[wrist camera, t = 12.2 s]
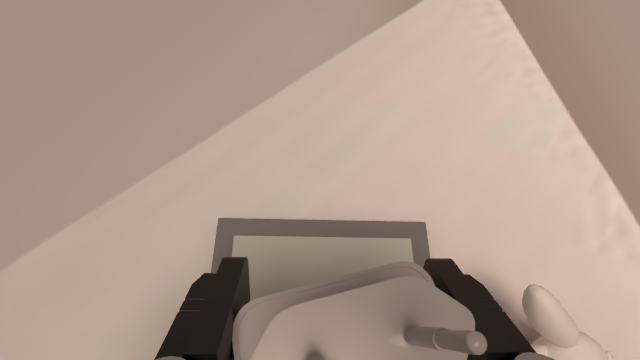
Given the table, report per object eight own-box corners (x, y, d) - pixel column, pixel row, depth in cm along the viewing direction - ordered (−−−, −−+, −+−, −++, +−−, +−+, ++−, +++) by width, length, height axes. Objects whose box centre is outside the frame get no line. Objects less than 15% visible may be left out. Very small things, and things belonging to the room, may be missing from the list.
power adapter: (259, 313, 15) (140, 284, 4) (371, 283, 15) (543, 188, 5) (272, 390, 13) (153, 688, 2) (392, 354, 14) (697, 457, 3)
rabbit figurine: (577, 456, 15) (465, 423, 12) (514, 381, 19) (417, 342, 16) (669, 366, 14) (569, 308, 11) (583, 304, 18) (492, 249, 15)
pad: (185, 488, 14) (179, 496, 13) (220, 221, 19) (218, 217, 18) (455, 481, 14) (462, 489, 14) (421, 225, 19) (425, 221, 19)
